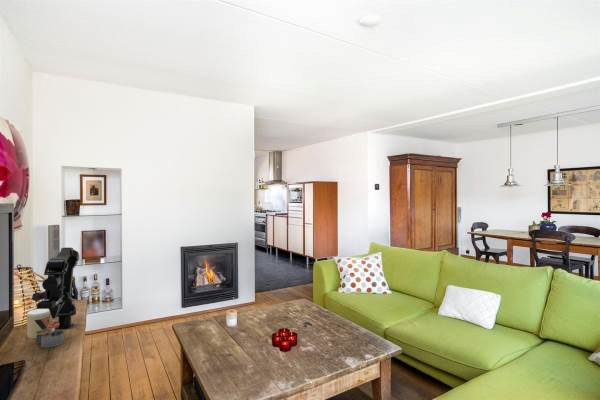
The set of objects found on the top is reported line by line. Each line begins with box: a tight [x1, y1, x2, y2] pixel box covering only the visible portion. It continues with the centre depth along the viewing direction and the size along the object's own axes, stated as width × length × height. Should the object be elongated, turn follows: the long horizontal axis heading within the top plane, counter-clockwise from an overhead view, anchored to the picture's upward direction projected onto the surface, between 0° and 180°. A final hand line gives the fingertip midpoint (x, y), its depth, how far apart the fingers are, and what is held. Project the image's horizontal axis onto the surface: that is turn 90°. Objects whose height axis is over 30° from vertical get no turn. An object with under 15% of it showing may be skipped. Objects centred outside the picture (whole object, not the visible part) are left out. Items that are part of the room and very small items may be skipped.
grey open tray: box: [35, 330, 65, 348], centre depth 154 cm, size 8×11×4 cm
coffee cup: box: [26, 308, 51, 339], centre depth 163 cm, size 9×9×12 cm
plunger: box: [48, 321, 59, 335], centre depth 154 cm, size 4×4×5 cm
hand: (53, 318), depth 154 cm, fingers closed
